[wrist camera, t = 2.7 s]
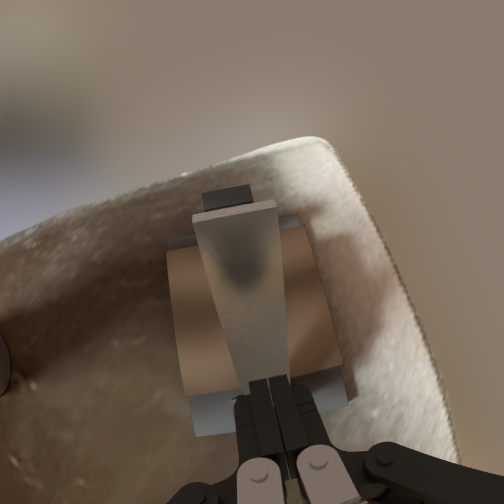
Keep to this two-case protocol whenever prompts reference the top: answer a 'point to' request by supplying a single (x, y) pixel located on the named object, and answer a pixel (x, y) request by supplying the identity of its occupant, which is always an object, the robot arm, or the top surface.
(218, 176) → the top surface
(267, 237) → the strap
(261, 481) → the robot arm
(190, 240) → the latch block
